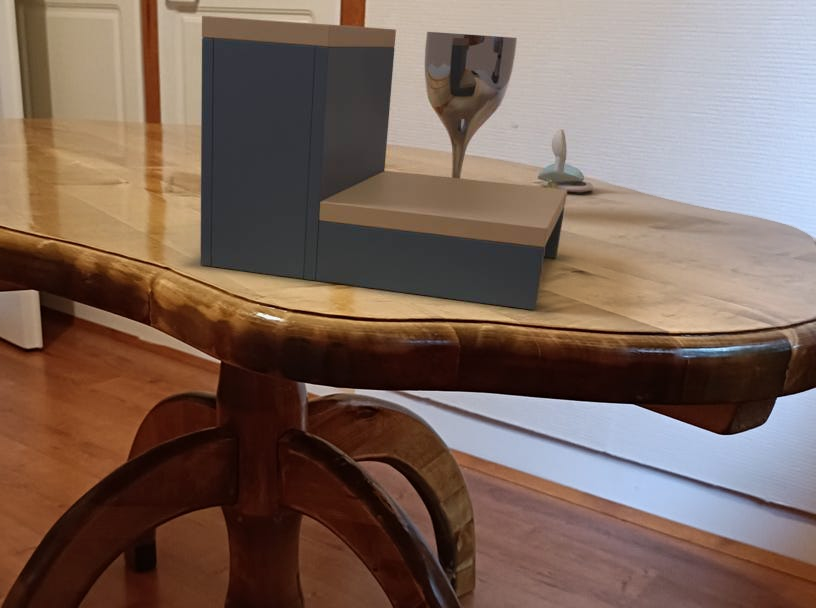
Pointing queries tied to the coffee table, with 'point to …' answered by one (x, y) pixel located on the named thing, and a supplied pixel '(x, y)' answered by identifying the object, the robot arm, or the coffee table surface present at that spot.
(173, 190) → the coffee table surface
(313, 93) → the two-step block
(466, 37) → the wine glass
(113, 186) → the coffee table surface
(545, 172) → the pacifier
